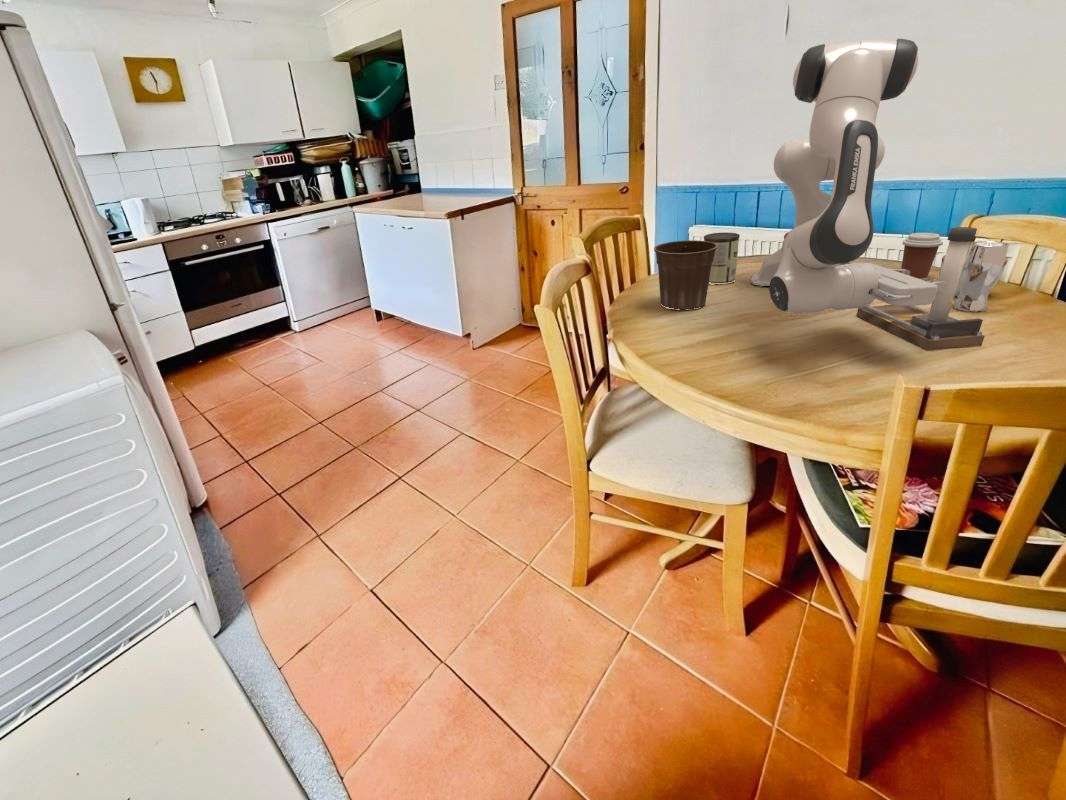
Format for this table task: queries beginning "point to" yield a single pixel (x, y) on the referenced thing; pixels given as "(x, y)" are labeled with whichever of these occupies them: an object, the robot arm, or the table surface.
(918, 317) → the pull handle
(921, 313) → the press bed
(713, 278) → the coffee can
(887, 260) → the table surface
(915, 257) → the coffee cup
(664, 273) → the plant pot
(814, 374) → the table surface
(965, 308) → the beer glass
